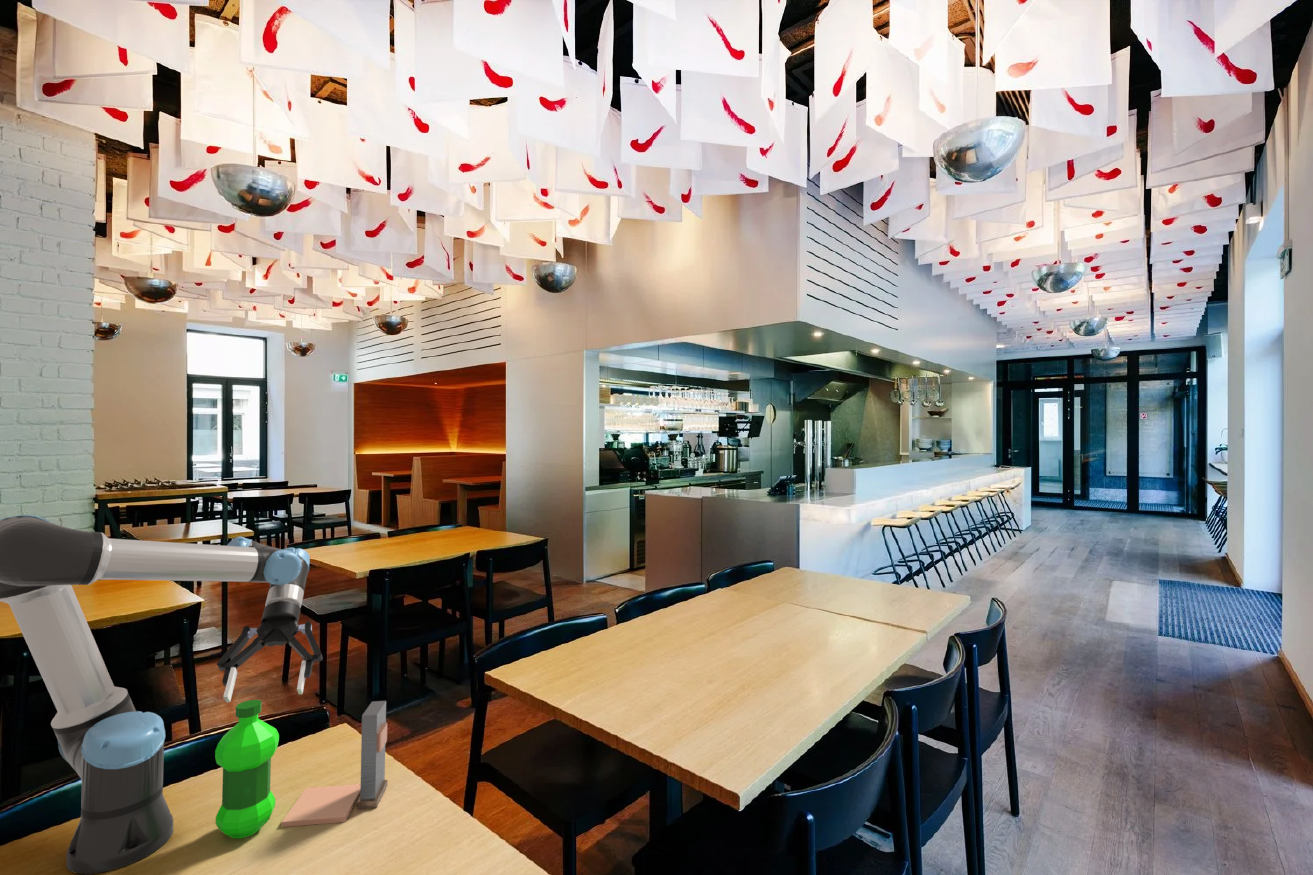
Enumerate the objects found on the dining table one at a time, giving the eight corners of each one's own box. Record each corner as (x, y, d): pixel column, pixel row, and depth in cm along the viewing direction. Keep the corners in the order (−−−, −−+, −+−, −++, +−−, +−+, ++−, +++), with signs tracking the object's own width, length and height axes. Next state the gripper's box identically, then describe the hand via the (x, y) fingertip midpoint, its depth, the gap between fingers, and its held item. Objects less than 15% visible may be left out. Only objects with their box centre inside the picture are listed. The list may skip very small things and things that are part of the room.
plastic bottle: (206, 852, 112) (209, 719, 113) (224, 819, 122) (227, 697, 122) (268, 840, 116) (271, 711, 116) (280, 809, 126) (283, 690, 126)
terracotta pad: (281, 826, 120) (281, 821, 120) (305, 792, 132) (306, 787, 132) (345, 821, 122) (345, 816, 122) (363, 788, 134) (363, 783, 134)
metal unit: (356, 809, 126) (358, 716, 126) (368, 787, 134) (370, 700, 134) (377, 807, 127) (379, 715, 127) (387, 786, 135) (389, 699, 135)
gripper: (342, 611, 150) (330, 695, 136) (225, 620, 142) (199, 710, 128) (339, 595, 145) (326, 680, 131) (217, 603, 137) (189, 695, 123)
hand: (263, 695), depth 129 cm, fingers open, 13 cm apart
